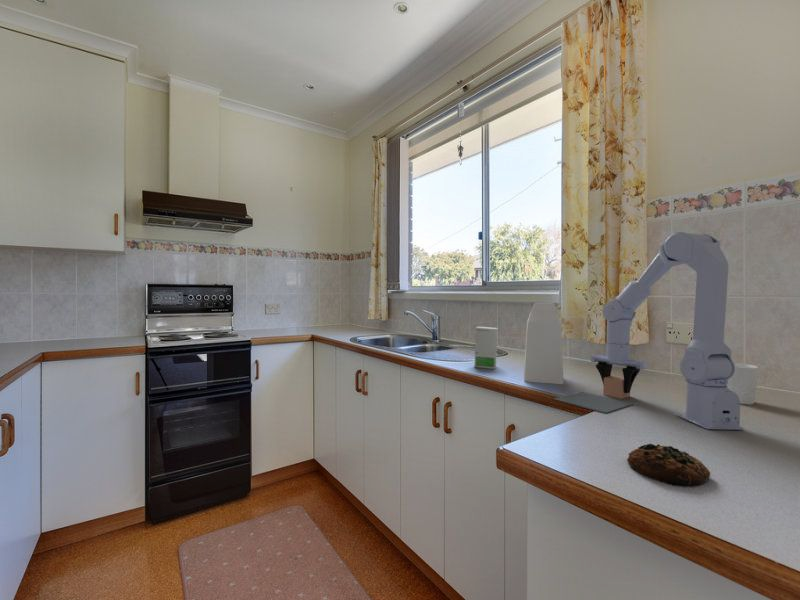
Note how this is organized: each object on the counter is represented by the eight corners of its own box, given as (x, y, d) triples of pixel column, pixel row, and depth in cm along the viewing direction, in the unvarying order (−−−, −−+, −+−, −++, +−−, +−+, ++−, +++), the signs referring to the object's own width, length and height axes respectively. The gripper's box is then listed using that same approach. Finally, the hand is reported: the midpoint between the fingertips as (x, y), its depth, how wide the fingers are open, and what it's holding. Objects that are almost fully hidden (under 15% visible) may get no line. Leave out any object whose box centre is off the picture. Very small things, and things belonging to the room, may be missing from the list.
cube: (630, 396, 109) (630, 378, 108) (621, 398, 106) (621, 380, 106) (612, 392, 113) (612, 375, 113) (603, 394, 110) (603, 377, 110)
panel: (633, 404, 100) (633, 403, 100) (605, 413, 92) (605, 412, 92) (582, 392, 112) (582, 391, 111) (554, 399, 104) (554, 398, 104)
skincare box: (474, 367, 148) (474, 327, 147) (475, 364, 154) (476, 326, 154) (496, 369, 145) (497, 328, 145) (497, 366, 151) (497, 327, 151)
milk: (524, 381, 126) (525, 302, 125) (523, 374, 137) (525, 302, 136) (563, 384, 122) (565, 303, 122) (559, 376, 133) (561, 302, 133)
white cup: (746, 398, 108) (747, 363, 107) (764, 406, 100) (765, 368, 100) (713, 396, 110) (714, 361, 110) (728, 403, 102) (729, 366, 102)
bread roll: (645, 484, 58) (645, 450, 58) (616, 462, 69) (616, 434, 69) (727, 494, 56) (727, 459, 57) (684, 470, 67) (683, 441, 67)
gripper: (652, 345, 105) (651, 394, 105) (600, 339, 117) (599, 383, 117) (640, 347, 101) (639, 397, 101) (587, 341, 113) (586, 386, 113)
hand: (616, 390), depth 109 cm, fingers closed on cube, 5 cm apart
